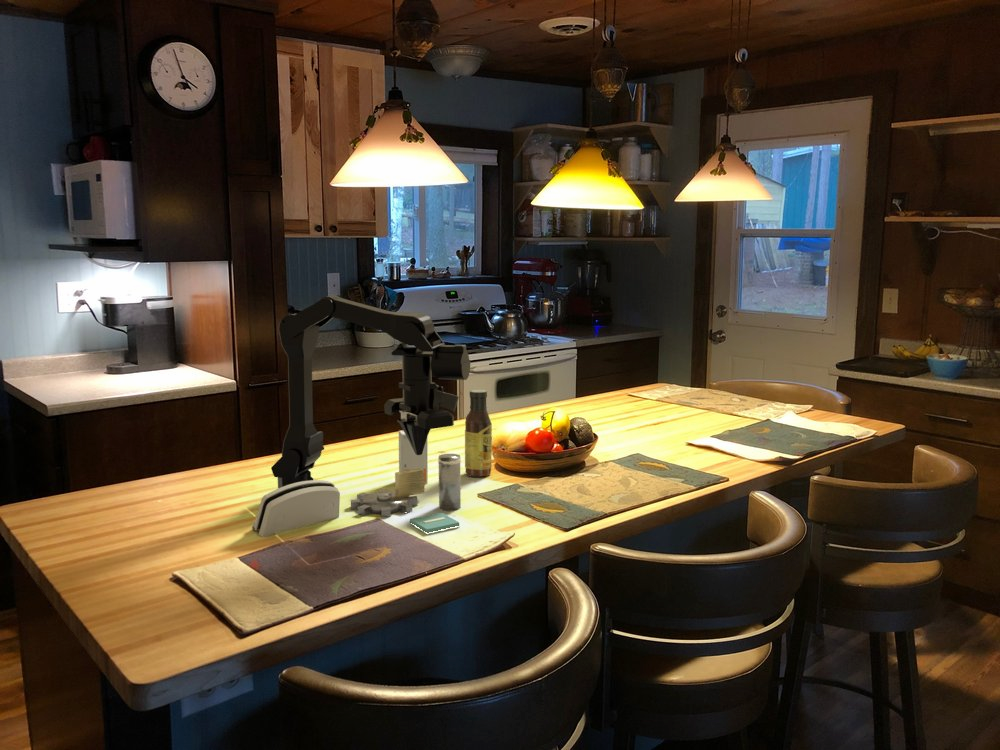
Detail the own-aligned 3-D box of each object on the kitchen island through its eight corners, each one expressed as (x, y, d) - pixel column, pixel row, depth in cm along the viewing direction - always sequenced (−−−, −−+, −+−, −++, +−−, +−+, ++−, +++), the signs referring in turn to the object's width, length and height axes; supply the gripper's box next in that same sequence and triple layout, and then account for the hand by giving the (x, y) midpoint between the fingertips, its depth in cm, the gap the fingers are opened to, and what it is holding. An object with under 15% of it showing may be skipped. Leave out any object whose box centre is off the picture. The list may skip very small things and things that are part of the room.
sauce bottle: (488, 478, 194) (488, 394, 191) (462, 477, 195) (461, 393, 192) (494, 471, 200) (494, 389, 197) (468, 469, 202) (468, 388, 198)
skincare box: (401, 486, 188) (400, 434, 186) (398, 481, 192) (397, 430, 190) (428, 484, 190) (427, 432, 188) (425, 479, 194) (424, 428, 192)
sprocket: (368, 521, 165) (367, 489, 164) (341, 503, 176) (340, 473, 175) (438, 507, 173) (437, 476, 172) (408, 490, 184) (408, 462, 183)
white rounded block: (327, 511, 171) (334, 470, 167) (338, 524, 168) (346, 482, 164) (249, 530, 160) (255, 486, 156) (260, 544, 157) (266, 500, 153)
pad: (427, 535, 158) (426, 528, 157) (409, 524, 163) (409, 518, 163) (459, 528, 161) (459, 521, 161) (441, 518, 167) (441, 511, 167)
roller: (445, 513, 170) (445, 460, 168) (435, 507, 174) (434, 455, 172) (464, 509, 173) (464, 457, 171) (453, 503, 176) (453, 452, 174)
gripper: (476, 380, 163) (477, 458, 166) (430, 368, 178) (431, 440, 181) (426, 386, 157) (427, 467, 160) (382, 373, 172) (384, 447, 175)
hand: (418, 454), depth 169 cm, fingers closed
